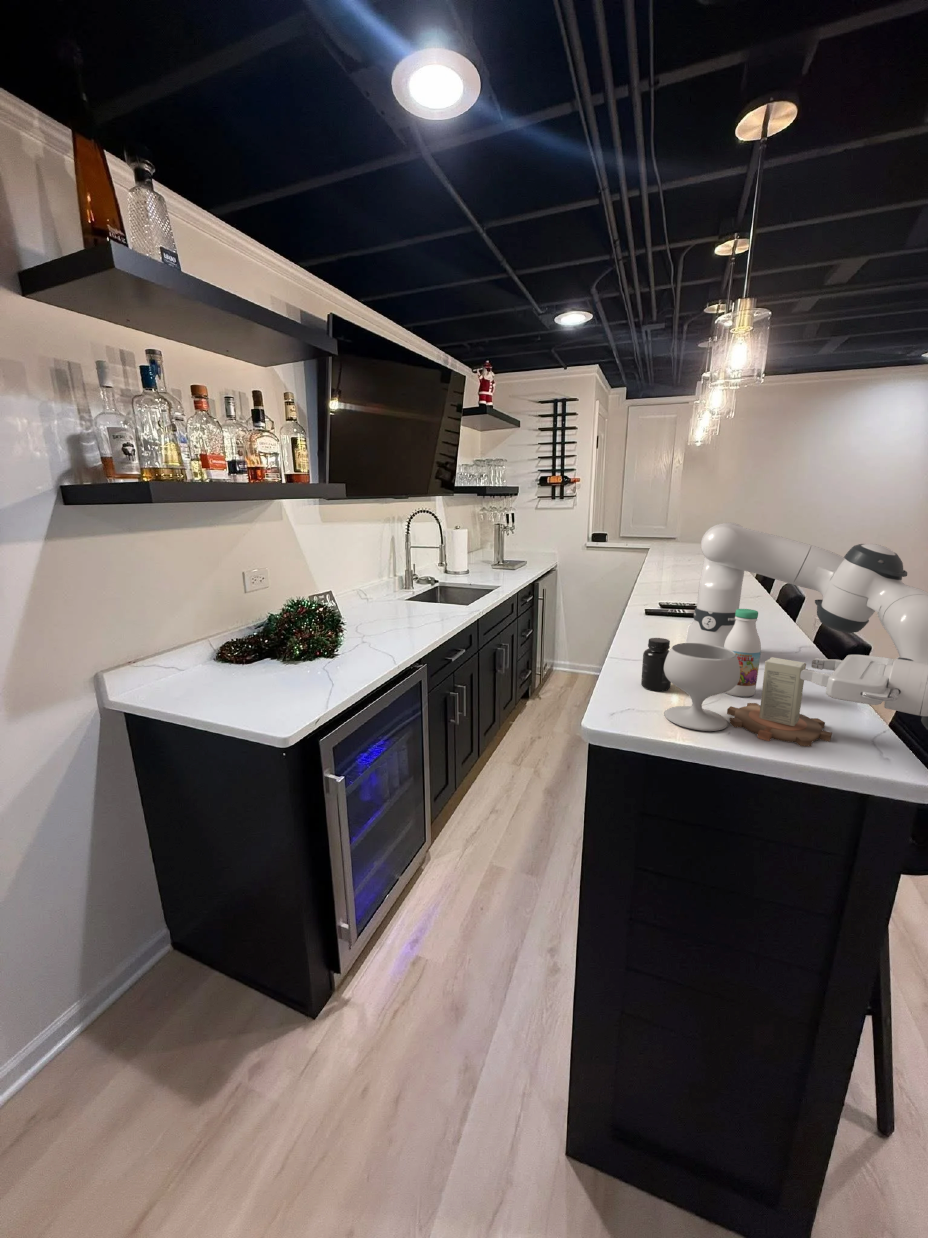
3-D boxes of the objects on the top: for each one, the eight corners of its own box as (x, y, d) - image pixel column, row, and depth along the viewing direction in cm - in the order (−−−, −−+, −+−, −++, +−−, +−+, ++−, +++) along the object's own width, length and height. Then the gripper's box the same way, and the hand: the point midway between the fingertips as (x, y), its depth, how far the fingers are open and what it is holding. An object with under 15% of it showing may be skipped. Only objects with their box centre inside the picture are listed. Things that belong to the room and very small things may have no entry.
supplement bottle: (665, 683, 125) (670, 636, 122) (674, 692, 118) (679, 644, 116) (637, 681, 126) (641, 635, 123) (644, 691, 119) (648, 643, 116)
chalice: (657, 727, 100) (664, 655, 96) (661, 702, 112) (667, 638, 109) (735, 740, 94) (746, 664, 91) (730, 713, 106) (739, 646, 103)
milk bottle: (716, 684, 124) (726, 606, 120) (751, 688, 121) (762, 608, 117) (720, 695, 117) (731, 612, 112) (758, 699, 114) (770, 614, 110)
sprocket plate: (741, 701, 113) (742, 695, 113) (839, 726, 100) (840, 719, 100) (713, 725, 100) (714, 718, 100) (820, 756, 88) (821, 749, 88)
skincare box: (799, 721, 99) (808, 662, 97) (793, 727, 96) (803, 667, 94) (763, 712, 104) (771, 655, 101) (756, 718, 101) (765, 660, 98)
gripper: (892, 720, 79) (791, 697, 89) (904, 688, 93) (816, 671, 103) (899, 683, 78) (796, 664, 87) (910, 656, 92) (820, 642, 101)
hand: (807, 668), depth 95 cm, fingers open, 8 cm apart
